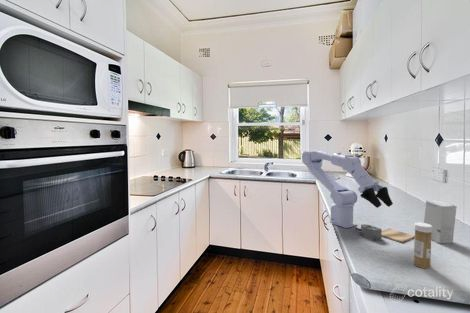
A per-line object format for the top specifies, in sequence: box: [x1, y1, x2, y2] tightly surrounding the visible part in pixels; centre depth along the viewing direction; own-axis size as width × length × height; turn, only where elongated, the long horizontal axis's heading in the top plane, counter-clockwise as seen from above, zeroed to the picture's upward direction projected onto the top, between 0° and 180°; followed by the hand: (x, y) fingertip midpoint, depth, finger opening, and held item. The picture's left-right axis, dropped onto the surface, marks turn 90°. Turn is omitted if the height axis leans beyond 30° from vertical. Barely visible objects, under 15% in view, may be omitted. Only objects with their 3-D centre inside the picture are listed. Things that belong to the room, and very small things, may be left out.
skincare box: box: [423, 199, 457, 244], centre depth 101 cm, size 8×6×15 cm
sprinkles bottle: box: [413, 221, 432, 270], centre depth 82 cm, size 5×5×13 cm
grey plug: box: [355, 223, 383, 242], centre depth 106 cm, size 10×4×4 cm, turn 32°
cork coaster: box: [381, 228, 415, 244], centre depth 106 cm, size 10×10×1 cm
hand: (385, 205), depth 101 cm, fingers open, 7 cm apart
